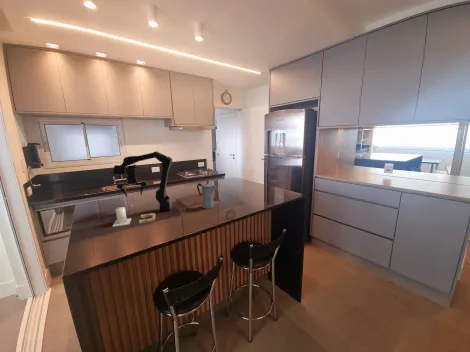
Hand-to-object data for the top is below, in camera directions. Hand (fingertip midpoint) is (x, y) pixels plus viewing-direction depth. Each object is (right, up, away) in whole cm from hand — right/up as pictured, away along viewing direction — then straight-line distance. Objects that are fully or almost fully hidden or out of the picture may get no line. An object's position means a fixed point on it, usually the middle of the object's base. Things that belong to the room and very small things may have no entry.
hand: (134, 196), depth 143 cm
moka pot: (+51, -9, +9) cm, 52 cm away
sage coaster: (0, -15, -15) cm, 22 cm away
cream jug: (0, -15, -14) cm, 20 cm away
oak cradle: (+13, -14, -11) cm, 22 cm away
